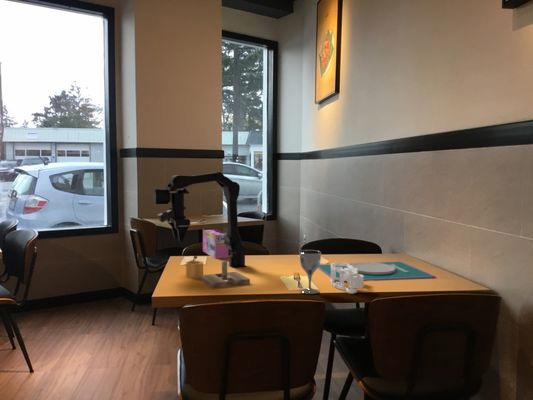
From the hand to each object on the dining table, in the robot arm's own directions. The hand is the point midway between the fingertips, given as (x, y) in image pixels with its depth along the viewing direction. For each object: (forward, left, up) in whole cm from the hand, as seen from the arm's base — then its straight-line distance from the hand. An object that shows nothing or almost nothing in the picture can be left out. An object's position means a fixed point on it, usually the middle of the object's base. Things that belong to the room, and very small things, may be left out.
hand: (178, 239), depth 195 cm
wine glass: (-36, +50, -15) cm, 63 cm away
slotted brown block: (-12, +24, -14) cm, 30 cm away
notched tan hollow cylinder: (-4, +10, -14) cm, 18 cm away
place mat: (-80, +33, -16) cm, 88 cm away
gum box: (-28, -30, -15) cm, 44 cm away
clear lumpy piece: (-53, +50, -15) cm, 74 cm away
